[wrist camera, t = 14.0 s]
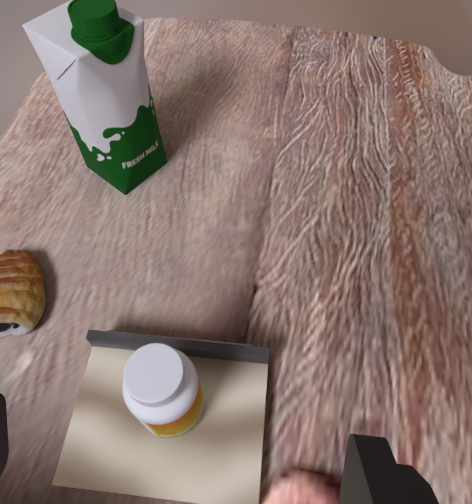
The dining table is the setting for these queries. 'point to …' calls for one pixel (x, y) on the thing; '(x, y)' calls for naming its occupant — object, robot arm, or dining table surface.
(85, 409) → the shelf board
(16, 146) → the dining table surface
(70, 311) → the dining table surface
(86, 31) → the milk carton
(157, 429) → the supplement bottle
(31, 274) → the pastry
